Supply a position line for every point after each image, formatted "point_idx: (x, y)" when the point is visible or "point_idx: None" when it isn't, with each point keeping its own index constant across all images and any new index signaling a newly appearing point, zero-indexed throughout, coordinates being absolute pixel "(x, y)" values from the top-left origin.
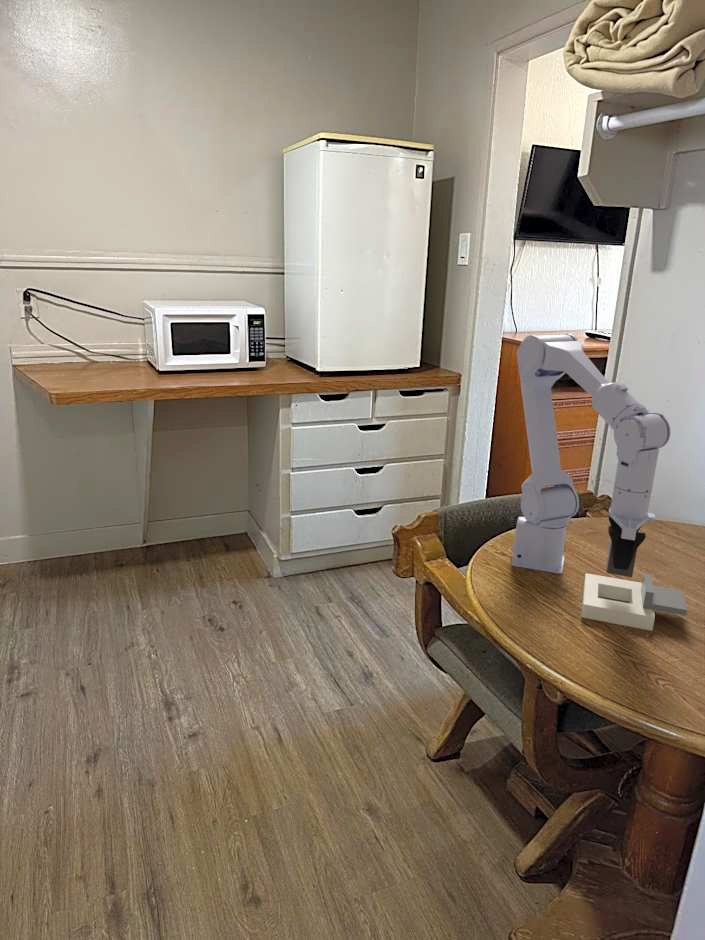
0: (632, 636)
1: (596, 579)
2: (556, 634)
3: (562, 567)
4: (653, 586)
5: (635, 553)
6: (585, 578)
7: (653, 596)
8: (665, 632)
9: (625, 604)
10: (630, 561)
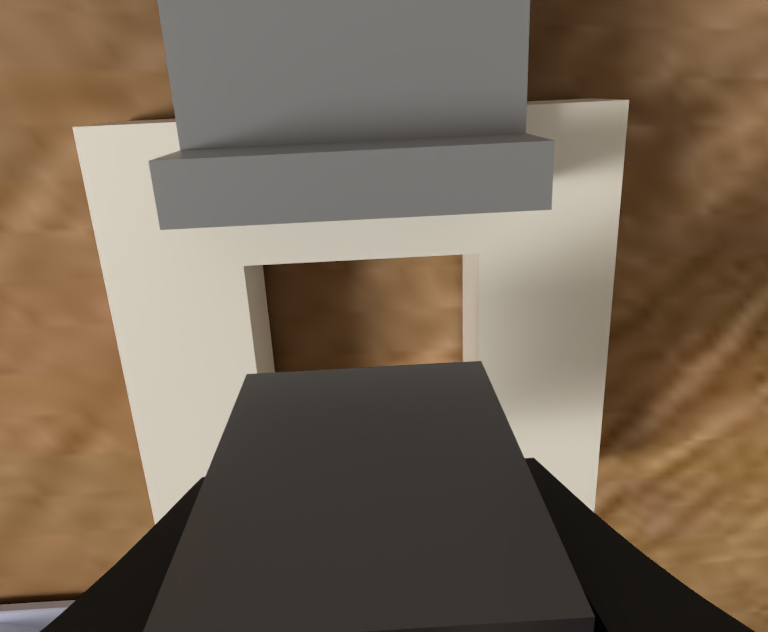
0: (671, 210)
1: None
2: (752, 540)
3: (40, 613)
4: (197, 117)
5: (551, 538)
6: None
7: (388, 118)
8: (560, 11)
9: (505, 297)
10: (589, 511)
